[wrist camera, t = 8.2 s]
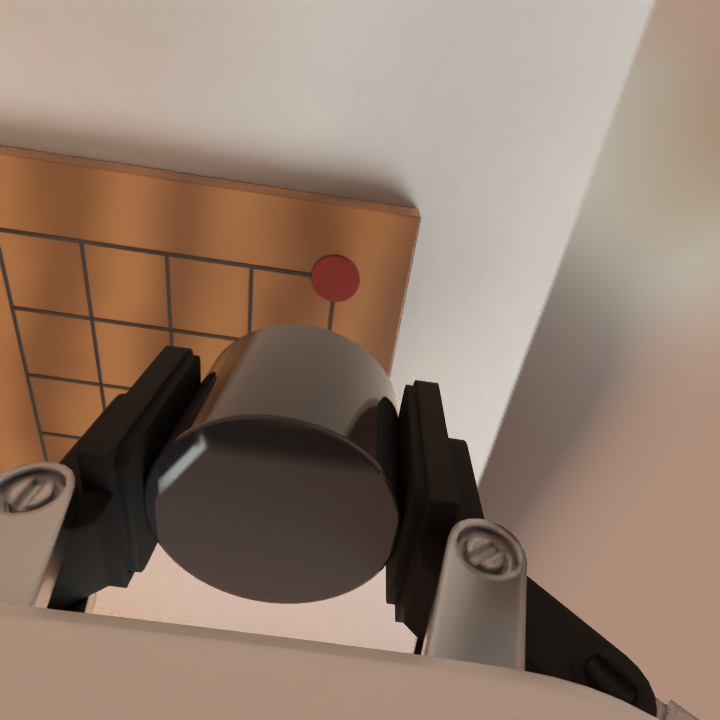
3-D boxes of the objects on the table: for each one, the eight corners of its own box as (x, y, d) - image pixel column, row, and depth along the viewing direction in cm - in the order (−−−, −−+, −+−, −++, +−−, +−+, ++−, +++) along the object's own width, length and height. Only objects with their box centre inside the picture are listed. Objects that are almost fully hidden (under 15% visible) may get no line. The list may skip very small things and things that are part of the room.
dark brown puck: (353, 293, 11) (340, 379, 8) (424, 456, 13) (437, 576, 10) (166, 362, 12) (87, 462, 9) (260, 502, 14) (223, 624, 11)
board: (419, 208, 21) (421, 217, 19) (355, 539, 30) (353, 561, 29) (-72, 134, 20) (-106, 137, 19) (24, 496, 30) (7, 516, 28)
